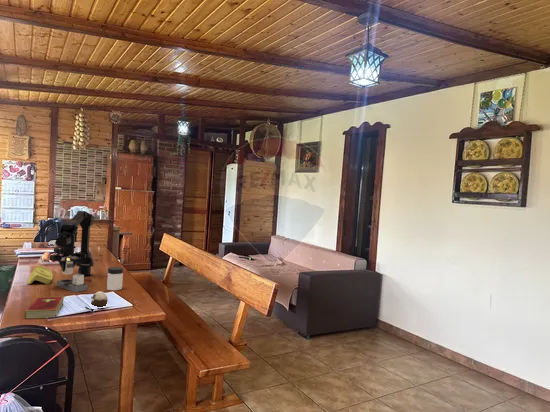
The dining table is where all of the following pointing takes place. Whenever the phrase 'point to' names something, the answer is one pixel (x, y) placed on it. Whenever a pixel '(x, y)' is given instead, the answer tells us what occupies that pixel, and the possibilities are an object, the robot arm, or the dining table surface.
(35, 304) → the hardcover book
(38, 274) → the plastic component
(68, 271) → the beige rectangular block
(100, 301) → the skull
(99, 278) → the dining table surface
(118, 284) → the jar
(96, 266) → the dining table surface
